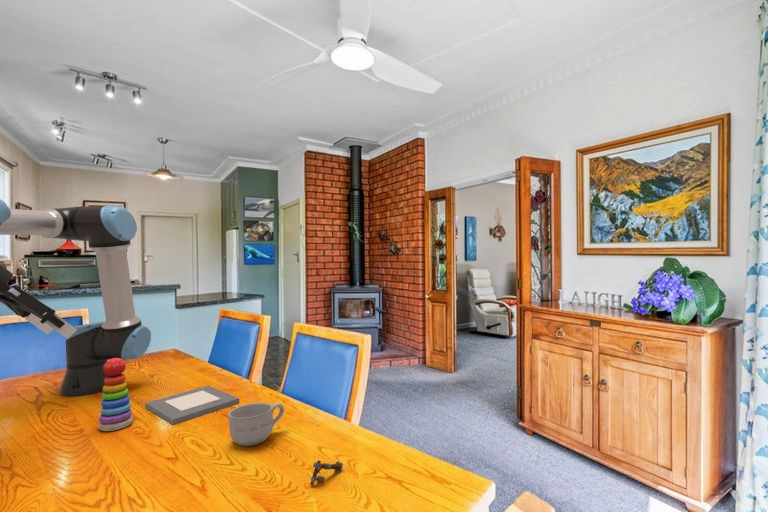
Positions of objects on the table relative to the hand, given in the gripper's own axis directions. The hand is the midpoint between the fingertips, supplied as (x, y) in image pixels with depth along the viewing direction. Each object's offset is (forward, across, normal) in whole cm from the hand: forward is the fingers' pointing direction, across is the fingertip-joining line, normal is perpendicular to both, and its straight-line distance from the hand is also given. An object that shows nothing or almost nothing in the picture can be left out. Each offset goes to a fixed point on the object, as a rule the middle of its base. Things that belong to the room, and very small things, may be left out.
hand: (61, 332), depth 100 cm
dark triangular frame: (+37, +70, -3) cm, 79 cm away
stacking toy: (+28, +4, -11) cm, 30 cm away
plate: (+41, +8, +4) cm, 42 cm away
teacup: (+39, +43, 0) cm, 58 cm away
